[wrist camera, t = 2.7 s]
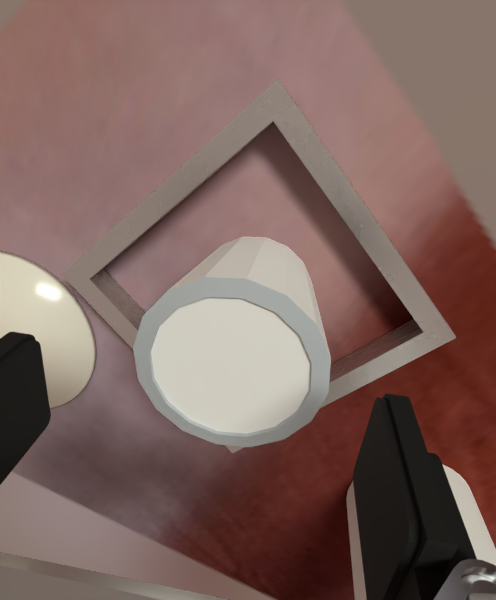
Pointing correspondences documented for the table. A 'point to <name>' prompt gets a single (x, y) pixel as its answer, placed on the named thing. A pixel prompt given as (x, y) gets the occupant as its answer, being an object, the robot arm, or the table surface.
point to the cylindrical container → (468, 513)
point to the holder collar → (320, 163)
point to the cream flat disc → (48, 325)
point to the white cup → (237, 346)
